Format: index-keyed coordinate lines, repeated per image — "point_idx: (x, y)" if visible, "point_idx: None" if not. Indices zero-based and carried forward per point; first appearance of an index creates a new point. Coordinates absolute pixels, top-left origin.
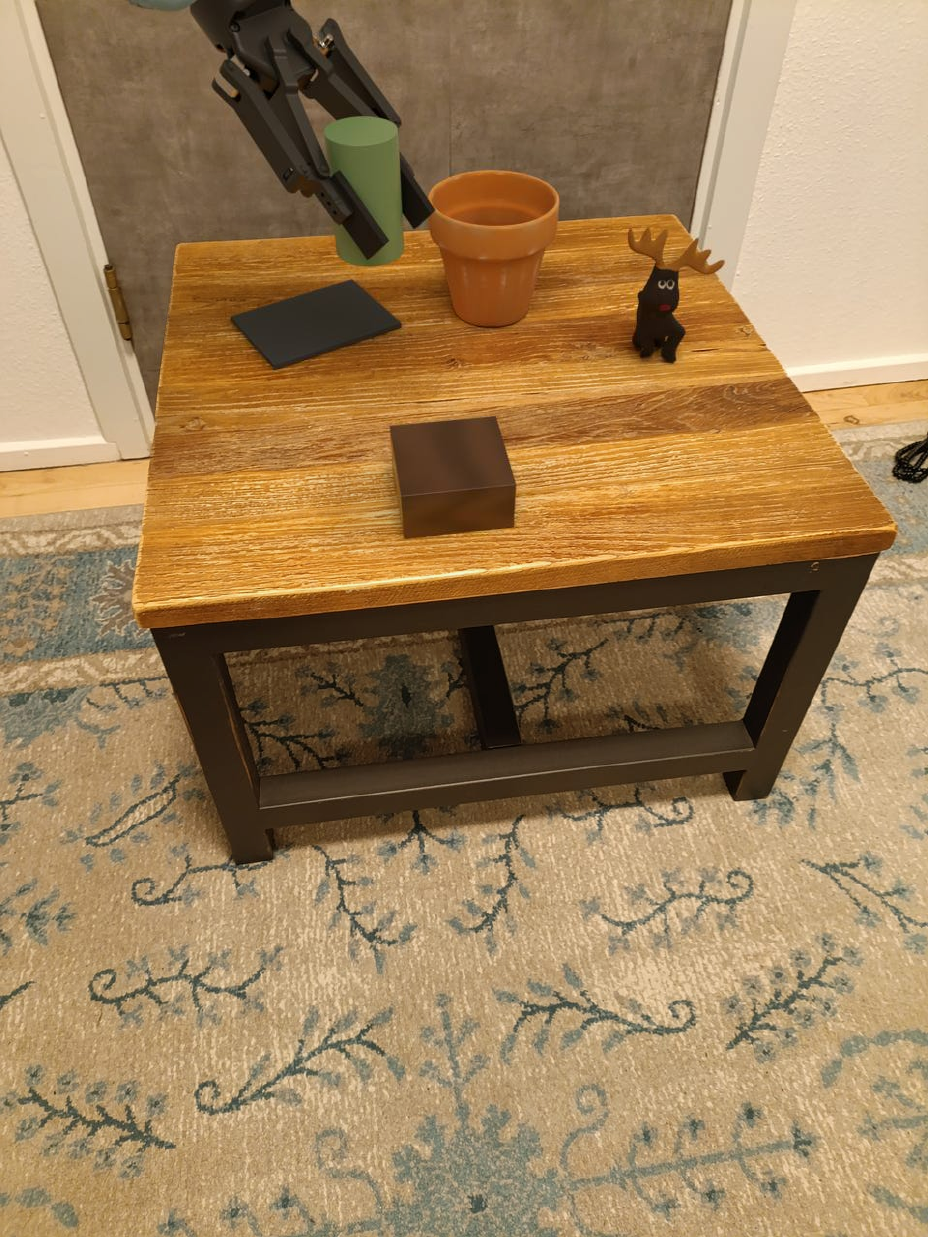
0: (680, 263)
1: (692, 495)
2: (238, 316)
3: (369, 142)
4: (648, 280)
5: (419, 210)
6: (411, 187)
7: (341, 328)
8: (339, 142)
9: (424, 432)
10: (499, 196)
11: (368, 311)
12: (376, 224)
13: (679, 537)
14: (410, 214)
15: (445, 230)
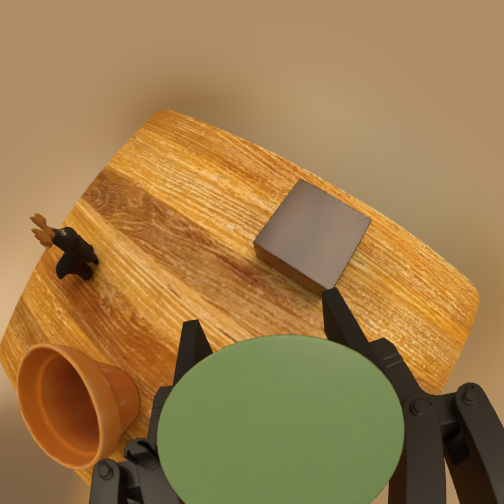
0: (46, 226)
1: (196, 156)
2: None
3: (333, 360)
4: (62, 244)
5: (202, 344)
6: (195, 361)
7: None
8: (399, 417)
9: (314, 264)
10: (43, 423)
11: None
12: (335, 310)
13: (231, 141)
14: None
15: (110, 426)
